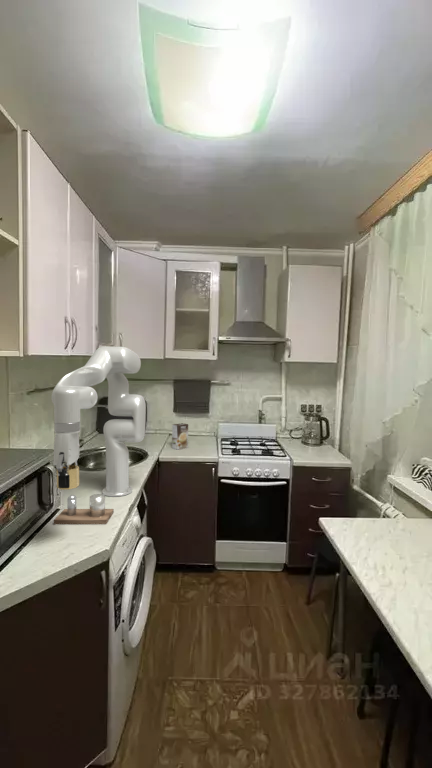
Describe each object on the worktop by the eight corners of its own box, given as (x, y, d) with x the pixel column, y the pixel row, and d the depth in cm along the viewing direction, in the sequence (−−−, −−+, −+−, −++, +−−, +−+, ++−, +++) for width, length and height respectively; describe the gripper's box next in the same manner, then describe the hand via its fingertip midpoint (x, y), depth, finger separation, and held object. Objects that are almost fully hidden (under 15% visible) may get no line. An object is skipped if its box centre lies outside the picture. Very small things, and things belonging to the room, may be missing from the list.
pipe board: (64, 512, 137) (64, 508, 137) (113, 512, 137) (113, 508, 137) (53, 524, 127) (53, 520, 127) (106, 524, 127) (106, 520, 127)
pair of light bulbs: (70, 511, 135) (70, 492, 134) (106, 511, 135) (106, 492, 135) (64, 517, 129) (64, 497, 129) (102, 517, 130) (102, 497, 129)
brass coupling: (62, 483, 120) (61, 464, 119) (81, 483, 120) (80, 464, 119) (54, 489, 114) (54, 470, 113) (74, 489, 114) (74, 470, 113)
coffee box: (177, 449, 243) (177, 425, 243) (171, 448, 248) (171, 424, 247) (188, 447, 250) (188, 424, 249) (182, 446, 254) (182, 423, 254)
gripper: (65, 423, 124) (66, 476, 125) (43, 432, 107) (44, 493, 108) (88, 423, 124) (88, 476, 125) (69, 432, 107) (70, 493, 108)
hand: (68, 483), depth 117 cm, fingers closed on brass coupling, 6 cm apart
